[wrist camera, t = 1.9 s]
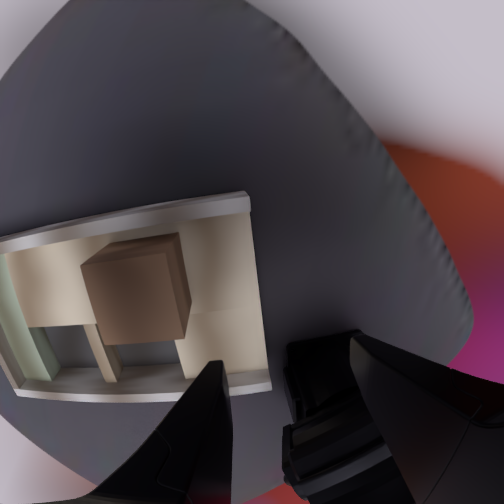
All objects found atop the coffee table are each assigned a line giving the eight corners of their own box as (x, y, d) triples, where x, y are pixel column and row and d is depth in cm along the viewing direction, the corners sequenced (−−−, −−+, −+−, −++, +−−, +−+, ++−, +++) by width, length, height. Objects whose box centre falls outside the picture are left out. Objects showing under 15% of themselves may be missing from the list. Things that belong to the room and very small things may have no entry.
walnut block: (178, 231, 18) (165, 252, 14) (191, 301, 19) (184, 338, 15) (109, 243, 18) (79, 265, 13) (126, 309, 19) (104, 345, 15)
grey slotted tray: (244, 190, 20) (249, 196, 16) (265, 358, 24) (272, 390, 20) (-12, 240, 19) (-41, 253, 15) (35, 371, 23) (17, 395, 19)
